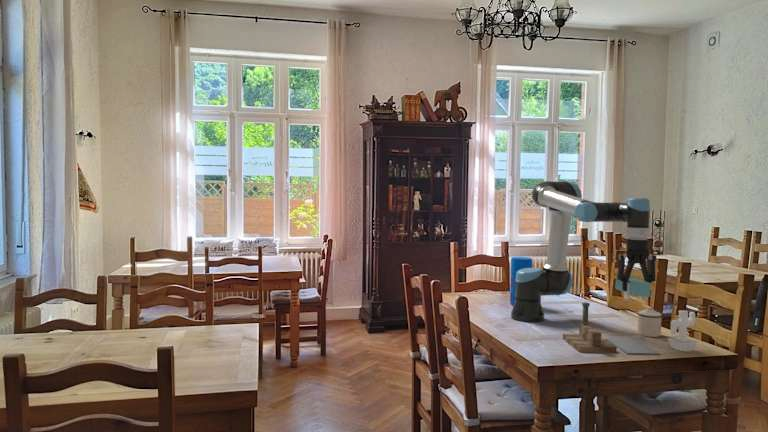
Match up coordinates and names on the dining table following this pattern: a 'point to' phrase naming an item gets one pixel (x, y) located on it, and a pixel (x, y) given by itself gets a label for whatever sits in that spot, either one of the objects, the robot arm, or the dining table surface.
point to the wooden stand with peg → (588, 337)
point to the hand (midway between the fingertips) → (635, 299)
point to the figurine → (682, 332)
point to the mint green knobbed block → (636, 287)
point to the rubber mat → (632, 346)
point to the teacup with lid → (649, 323)
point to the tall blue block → (516, 265)
